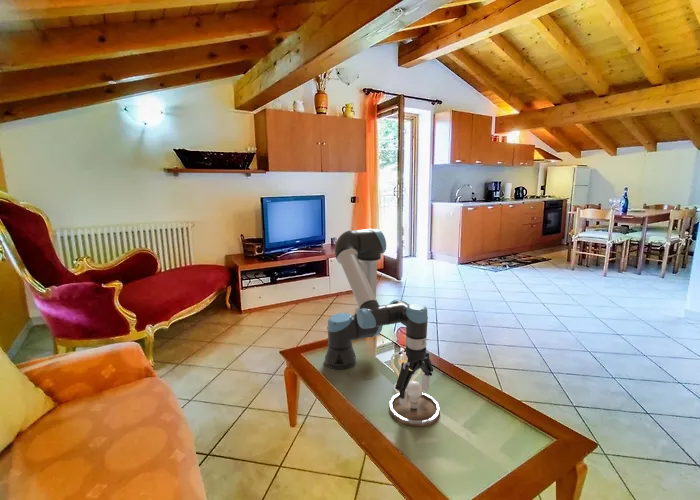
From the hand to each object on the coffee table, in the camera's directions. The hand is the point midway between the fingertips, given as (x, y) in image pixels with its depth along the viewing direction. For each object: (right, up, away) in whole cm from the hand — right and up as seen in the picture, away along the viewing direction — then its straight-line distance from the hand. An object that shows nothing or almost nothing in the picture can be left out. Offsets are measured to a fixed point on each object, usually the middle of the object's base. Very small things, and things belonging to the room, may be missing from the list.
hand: (414, 397), depth 135 cm
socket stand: (0, -5, +1) cm, 5 cm away
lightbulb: (0, -5, +1) cm, 5 cm away
